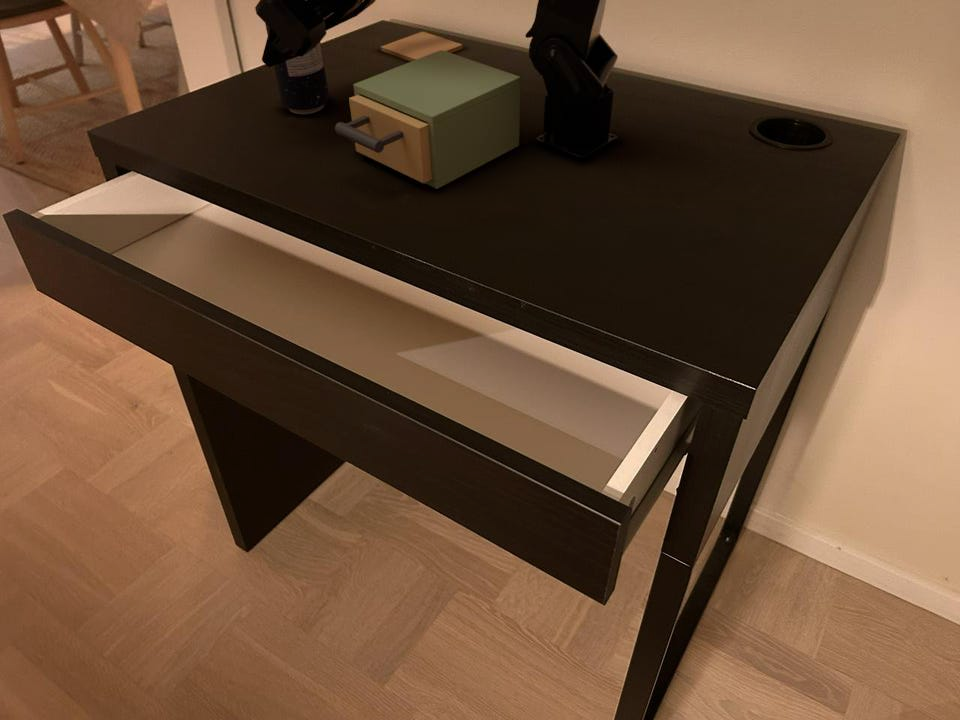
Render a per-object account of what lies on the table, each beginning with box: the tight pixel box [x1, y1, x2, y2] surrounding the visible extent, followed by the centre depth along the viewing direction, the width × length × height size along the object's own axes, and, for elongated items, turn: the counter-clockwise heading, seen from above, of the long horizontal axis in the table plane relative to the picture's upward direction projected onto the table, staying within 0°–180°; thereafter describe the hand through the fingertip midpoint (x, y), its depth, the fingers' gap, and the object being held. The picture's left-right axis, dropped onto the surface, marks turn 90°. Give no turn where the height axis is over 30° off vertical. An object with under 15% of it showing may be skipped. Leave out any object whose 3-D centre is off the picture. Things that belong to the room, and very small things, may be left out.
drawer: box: [334, 95, 432, 184], centre depth 77 cm, size 15×10×6 cm
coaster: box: [380, 30, 464, 62], centre depth 103 cm, size 8×8×1 cm
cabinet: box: [352, 50, 522, 190], centre depth 79 cm, size 13×12×8 cm
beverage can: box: [264, 22, 330, 115], centre depth 86 cm, size 6×6×12 cm
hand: (285, 49), depth 86 cm, fingers open, 9 cm apart
